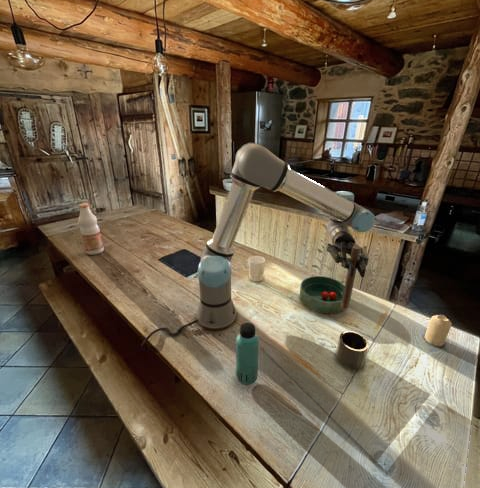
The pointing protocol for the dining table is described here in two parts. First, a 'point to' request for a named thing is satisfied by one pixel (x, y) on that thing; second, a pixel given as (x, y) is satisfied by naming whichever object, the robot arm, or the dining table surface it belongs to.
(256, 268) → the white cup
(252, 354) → the beverage bottle
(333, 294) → the tomato
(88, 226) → the fruit juice
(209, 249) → the robot arm
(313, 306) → the bowl
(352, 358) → the crock
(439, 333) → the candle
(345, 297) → the stirring stick
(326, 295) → the tomato
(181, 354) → the dining table surface
